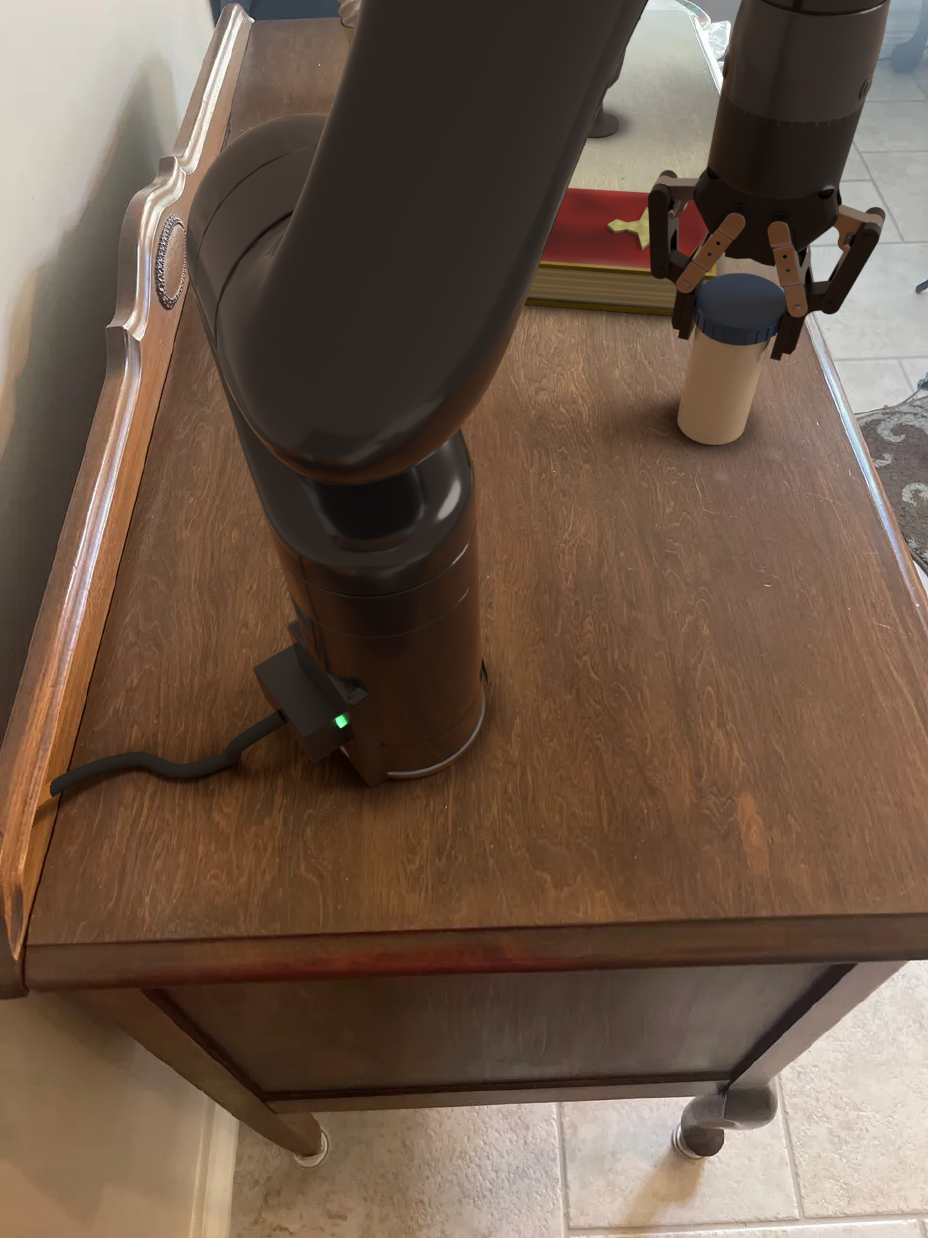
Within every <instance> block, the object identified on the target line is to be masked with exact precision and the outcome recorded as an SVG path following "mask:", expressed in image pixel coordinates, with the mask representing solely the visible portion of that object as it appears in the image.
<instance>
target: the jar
mask: <svg viewBox="0 0 928 1238" xmlns="http://www.w3.org/2000/svg"><path fill="white" fill-rule="evenodd" d="M771 339H772V338H770V339H768V341H764V342H761V343H758V344H754V345H746V346H737V345H729V344H724V343H720V342H718V341H715V340H713V339H710V338H709V337H708V336H706V335H705V334H704V333H702V332H701V331H700V330H699V328H698V327H697V326H696V325H695V327H694V333H693V338H692V343H691V348H690V353H689V357H688V362H687V367H686V372H685V377H684V381H683V386H682V392H681V396H680V401H679V406H678V411H677V414H676V415H677V417H676V421H677V426H678V427H679V429H680V431H681V432H682V433H683V434H684V435H685V436H686V437H687V438H689V439H690V440H692V441H695V442H697V443H699V444H702V445H708V446H709V445H710V446H721V445H726V444H730V443H732V442H734V441H736V440H737V439H738V438H740V437H741V436H742V435H743V433H744V432H745V429H746V426H747V422H748V419H749V416H750V413H751V408H752V404H753V401H754V399H755V396H756V395H755V394H756V391H757V387H758V384H759V380H760V376H761V374H762V371H763V367H764V364H765V359H766V356H767V353H768V351H769V350H768V349H769V345H770V343H771Z"/></svg>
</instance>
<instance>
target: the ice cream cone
mask: <svg viewBox="0 0 928 1238" xmlns="http://www.w3.org/2000/svg"><path fill="white" fill-rule="evenodd" d="M337 2H338V4H339V8H338V12H337V13H338V16H339V17H341V18H340V19H339V24H340V26H341V27H342V30H343V32H344V34H345V36H346V40H347V42H348V45H349V46H350V44H351V40H352V37H353V33H354V29H355V26H356V22H357V17H358V12H359V8H360V3H361V0H337Z"/></svg>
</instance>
